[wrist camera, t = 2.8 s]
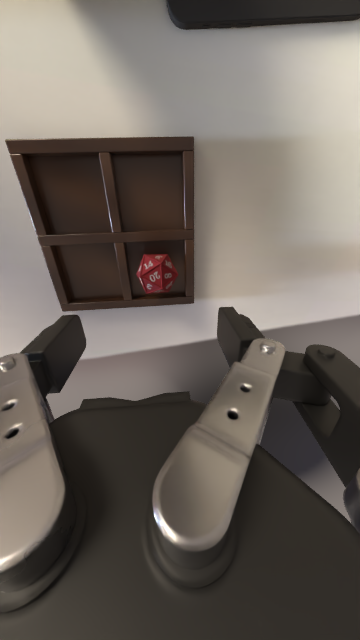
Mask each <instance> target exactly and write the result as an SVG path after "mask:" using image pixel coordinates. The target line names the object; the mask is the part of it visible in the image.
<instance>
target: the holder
mask: <svg viewBox="0 0 360 640" xmlns="http://www.w3.org/2000/svg"><path fill="white" fill-rule="evenodd" d="M5 142H6V145H7V148H8V150H9V153H10V157H11V160H12V163H13V166H14V169H15V172H16V175H17V177H18V180H19V183H20V186H21V189H22V192H23V195H24V198H25V201H26V204H27V207H28V210H29V213H30V216H31V219H32V222H33V225H34V228H35V231H36V234H37V237H38V240H39V243H40V246H41V249H42V252H43V255H44V258H45V261H46V264H47V267H48V270H49V273H50V276H51V279H52V282H53V285H54V288H55V291H56V294H57V297H58V300H59V303H60V305H61V308H62V311H78V310H95V309H111V308H127V307H144V306H160V305H176V304H193V303H194V240H193V239H194V137H133V138H67V139H6V140H5ZM155 254H167V255H168V257H169V258H170V260H171V262H172V264H173V266H174V267H175V269H176V271H177V273H178V276H177V278H176V280H175V282H174V283H173V285H172V287H171V289H170V291H169V292H163V293H150V294H146V292H145V290H144V288H143V286H142V284H141V282H140V280H139V278H138V276H137V275H136V273H137V271H138V268H139V266H140V263H141V261H142V258H143V255H155Z"/></svg>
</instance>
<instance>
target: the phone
mask: <svg viewBox="0 0 360 640" xmlns="http://www.w3.org/2000/svg"><path fill="white" fill-rule="evenodd" d="M167 7H168V12H169V15H170V18H171V20H172V22H173V23H174V24H175V25H176V26H177V27H178V28H180V29H185V30H191V29H210V28H231V27H251V26H264V25H282V24H301V23H319V22H337V21H352V20H356V19H359V18H360V0H167Z"/></svg>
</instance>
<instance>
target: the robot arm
mask: <svg viewBox="0 0 360 640" xmlns="http://www.w3.org/2000/svg"><path fill="white" fill-rule="evenodd" d="M217 337H218V341H219V344H220V346H221V348H222V350H223V353H224V355H225V357H226V360H227V362H228V364H229V367H230V370H229V371H228V373H227V374H226V376H225V378H224V379H223V381H222V382H221V384H220V386H219V387H218V389H217V390H216V392H215V393H214V395H213V397H212V398H211V400H210V401H209V403H208V405H207V404H205V403H202V402H199V401H195V400H190V394H189V392H177V393H164V394H160V395H157V396H153V397H149V398H146V399H142V400H139V401H131V400H124V399H117V398H97V399H84V400H83V401H82V404H81V406H80V408H79V409H77V410H74V411H71V412H68V413H67V414H64V415H62V416H60V417H59V418H57V419H55V420H54V417H53V415H52V412H51V409H50V406H49V404H48V401H47V399H46V396H47V394H49V393H60V391H61V389H62V388H63V386H64V384H65V383H66V381H67V379H68V377H69V376H70V374H71V372H72V371H73V369H74V367H75V365H76V364H77V362H78V360H79V359H80V357H81V355H82V354H83V352H84V350H85V348H86V338H85V334H84V331H83V327H82V324H81V320H80V317H79V316H78V315H63V316H61V317H60V318H59V319H58V320H57V321H56V322H55V323H54V324H53V325H51V326H49V327H48V328H46V329H44V330H43V331H42V332H41V333H40V334H39V336H37V337H36V338H35V339H34V341H32V342H31V343H30V344H29V345H28V346H26V347H25V348H24V349H23V350H22V351H21V352H20V353H15V354H10V355H6V356H3V357H1V358H0V640H360V368H359V367H358V366H357V365H355V364H354V363H353V362H352V361H351V360H350V359H348V358H347V357H346V356H345V355H344V354H342V353H341V352H340V351H338V350H336V349H334V348H331V347H328V346H324V345H310V346H308V347H307V348H306V352H305V354H302V353H294V352H288V351H286V350H285V347H284V346H283V345H282V344H281V343H279V342H277V341H275V340H272V339H266V338H265V337H264V336H263V335H262V333H261V332H260V331H259V330H258V328H256V326H255V325H254V324H253V322H252V321H251V320H250V319H249V318H248V317H246V316H244V315H242V314H238V313H237V312H236V310H235V309H234V308H233V307H220V308H219V312H218V326H217ZM331 395H332V396H333V397H334V399H335V400H336V401H337V403H338V404H339V407H340V410H339V409H338V408H337V407H336V405H335V404H334V403H333V402H332V400H331V399H330V398H331ZM273 397H275V398H280V399H285V400H290V401H293V403H294V405H295V406H296V408H297V410H298V411H299V413H300V414H301V416H302V418H303V419H304V421H305V422H306V424H307V426H308V427H309V429H310V430H311V432H312V434H313V435H314V437H315V439H316V440H317V442H318V444H319V445H320V447H321V448H322V450H323V452H324V453H325V455H326V456H327V458H328V460H329V461H330V463H331V465H332V466H333V468H334V469H335V471H336V473H337V474H338V476H339V478H340V479H341V481H342V482H343V484H344V486H345V487H346V489H345V490H344V494H343V500H344V505H345V508H346V510H347V512H348V515H349V517H350V519H351V523H350V522H349V521H348V520H347V519H346V518H345V517H344V516H343V515H342V514H341V513H340V512H339V511H337V510H336V509H335V508H334V507H333V506H331V504H329V503H328V502H327V501H326V500H325V499H323V498H322V497H321V496H320V495H319V494H317V493H316V492H315V491H314V490H312V489H311V488H310V487H309V486H308V485H307V484H305V483H304V482H303V481H302V480H301V479H299V478H298V477H297V476H296V475H295V474H293V473H292V472H291V471H290V470H289V469H287V468H286V467H285V466H284V465H283V464H281V463H280V462H279V461H278V460H277V459H276V458H274V457H273V456H272V455H271V454H269V453H268V452H267V451H266V450H265V449H264V448H262V447H261V446H260V445H259V444H260V441H261V437H262V433H263V430H264V427H265V423H266V420H267V417H268V413H269V410H270V407H271V403H272V400H273Z"/></svg>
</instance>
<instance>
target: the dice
mask: <svg viewBox="0 0 360 640" xmlns="http://www.w3.org/2000/svg"><path fill="white" fill-rule="evenodd" d="M136 275H137V276H138V278H139V280H140V282H141V284H142V286H143V288H144V290H145V292H146V294H150V293H163V292H169V291H170V289H171V287H172V285H173V283H174V282H175V280H176V278H177V276H178V273H177V271H176V269H175V267H174V266H173V264H172V262H171V260H170V258H169V257H168V255H167V254H155V255H143V258H142V261H141V263H140V266H139V268H138V271H137V273H136Z"/></svg>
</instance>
